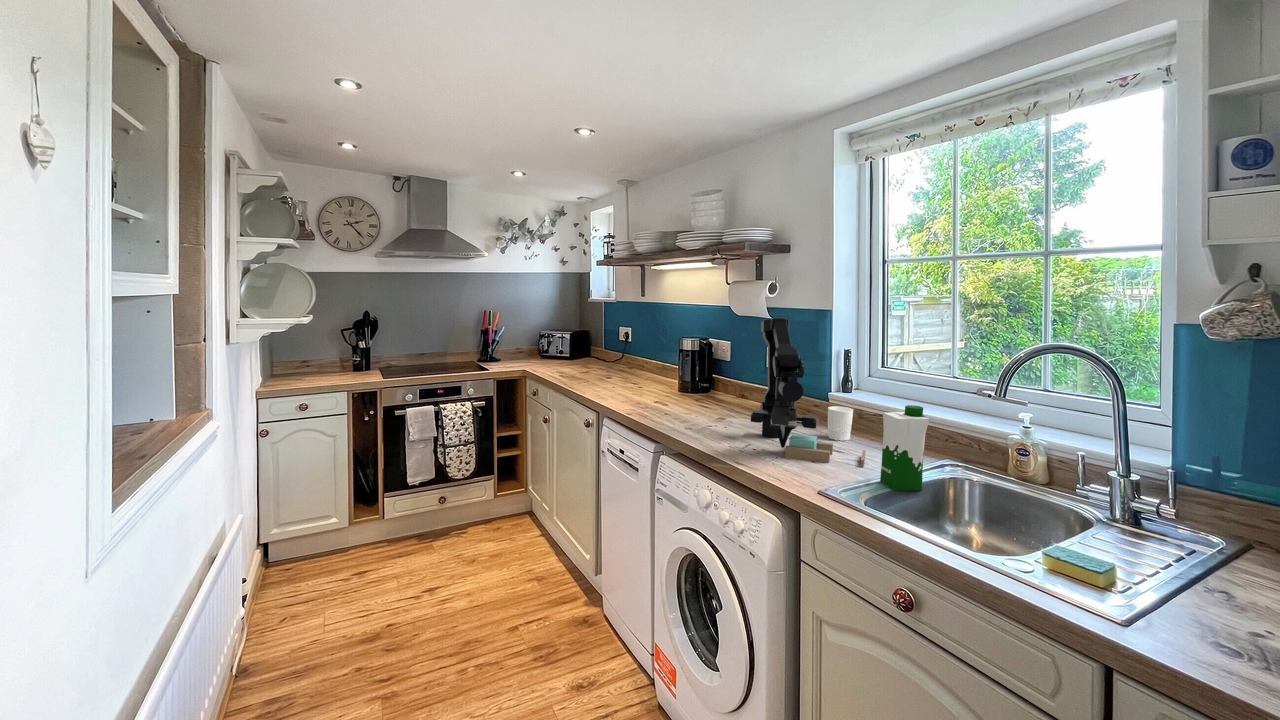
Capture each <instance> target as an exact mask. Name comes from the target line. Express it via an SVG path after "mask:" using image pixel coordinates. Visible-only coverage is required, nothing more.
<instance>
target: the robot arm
mask: <svg viewBox="0 0 1280 720" xmlns="http://www.w3.org/2000/svg"><path fill="white" fill-rule="evenodd" d="M760 323H761V326H760V330H761V333H762V339H763V341H764V342H765V344H766V345H767V389H766V392H765V394H764V395H763V396H762V401H761V402H760V407H759V409H755V410H754V411H753V412H752V413H751V414H750V422H751V423H759V424H761V423H762V425H761V428H762V430H761V437H764V438H767V439H768V438H769V439H778V441H779V444H780V447H781V448H782V449H785V447H786V444H787V442H788V439H789V438H790V437H789V436H791V432H792V430H795V429H796V428H797V427H798V426H799V424H800V425H801V426H803V427H804V428H806V429H817V427H818V425H819V417H818V415H812V414H804V415H803V416H798V410H797V408H796V402H797V401H799V400H801V398H802V397H803V395H804V387H803V386H802V384H801V383H799V382H798V379H803V377H804V374H805V368H804V362H803V360H802V356H800V354H799V351H798V349H796V348H795V347H794V346H793V345H792V341H791V337H790V320H789V319H788V318H786V317H773V318H772V317H771V318H765V319H763V320H762V322H760Z"/></svg>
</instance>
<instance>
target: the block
mask: <svg viewBox="0 0 1280 720" xmlns="http://www.w3.org/2000/svg"><path fill="white" fill-rule="evenodd" d="M788 439H789V441H788V446H793V447H802V448H810V449H816V447H817V442H818V436H817V435H816V436H814V435H805V434H795V433H792V435H791V434H790V437H788Z"/></svg>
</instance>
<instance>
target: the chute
mask: <svg viewBox="0 0 1280 720" xmlns="http://www.w3.org/2000/svg"><path fill="white" fill-rule="evenodd" d="M784 449H785V450H784V458H787V459H794V460H800V461H801V460H803V461H809V462H810V461H811V462H819V463H826V464H827V463H828V464H830V462H831V460H830V459H831V456H832V455H833V453H834V452H833V451H834V443H833V442H832V443H831V442H826V441H825V442H823V441H817V447H816V449H810V448H802V447H793V446H789V445H785V447H784ZM865 462H866V450H864V449H863V450H862V452H861V457H860V467H861V468H864V467H865Z"/></svg>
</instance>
